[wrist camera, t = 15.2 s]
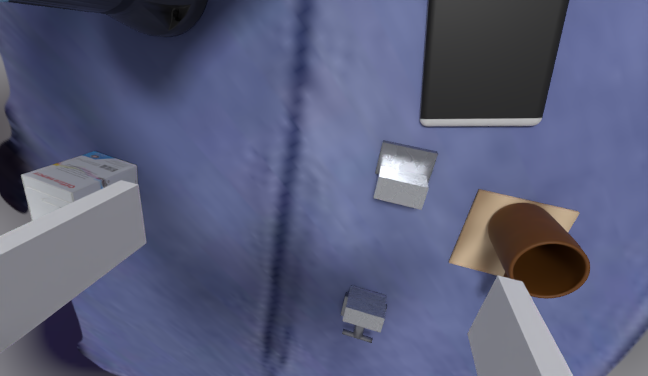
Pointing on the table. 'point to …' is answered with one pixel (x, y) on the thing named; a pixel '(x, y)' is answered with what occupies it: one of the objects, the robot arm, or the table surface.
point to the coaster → (474, 235)
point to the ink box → (73, 181)
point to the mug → (537, 251)
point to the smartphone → (489, 61)
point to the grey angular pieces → (396, 187)
